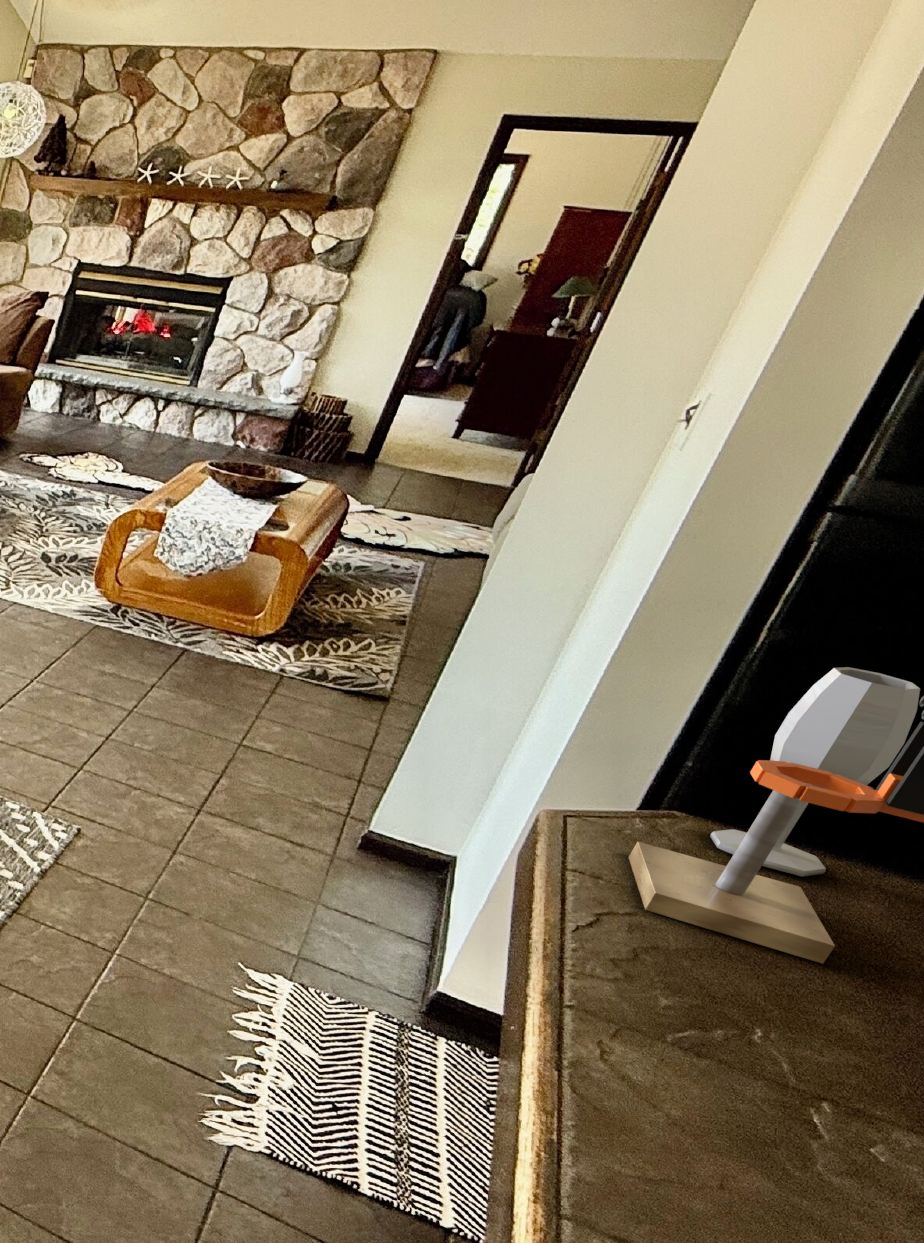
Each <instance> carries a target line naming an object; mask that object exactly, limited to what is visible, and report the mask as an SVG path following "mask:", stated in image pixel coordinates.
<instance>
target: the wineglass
mask: <svg viewBox="0 0 924 1243" xmlns="http://www.w3.org/2000/svg"><path fill="white" fill-rule="evenodd" d="M920 692H921V688H920V687H919V686H917V685H916V684H915V683H914V682H911V681H908V680H905V679H901V678H898V677H894V676H891V675H887V674H884V673H881V672H875V671H870V670H865V669H860V668H854V667H849V666H845V667H843V666H842V667H833V668H832V669H831V670H830V671H828V672H827V673H826V674H825V675H823V677H821V678H820V679H818V680H817V681H816V682H815V683H814V684H813V685H812V686H811V687H810V688H809V689H808V690H807V692H806V693H805V694H803V696H802V697H801V698H800V700H798V701H797V703H796V704H795V705H794V706H793V708H791V709H790V711H788V712H787V715H786V716H785V718H784V720H783V721H782V723H781V725H780V727H779V728H778V729H777V731H776V733H775V734H774V739H773V745H772V750H771V754H770V758H769V761H785V762H787V763H789V762H791V763H795V764H800V765H804V766H808V767H812V768H816V769H820V770H824V771H828V772H831V773H832V774H838V775H841V776H844V777H846V778H849V779H851V780H854V781H856V782H859V783H861V784H864V785H866V786H869V784H870V783H871V782H872V781H874V780H875V779H876V778H877V777H879V776H880V775H881V774H882V773H883V772H885V771H886V770H887V769H888V768H890V767H891V765H892V764H893V762H894V761H895V759H896V758H897V756H898V754H899V753H900V750H902V748H903V747H904V745H905V743H906V740H907V737H908V735H909V732H910V729H911V727H912V724H913V722H914V720H915V717H916V714H917V712H918V706H919V698H920ZM812 786H815V785H812ZM815 787H819V786H815ZM819 788H823V787H819ZM823 789H825V788H823ZM827 790H828V789H827ZM808 805H809V803H808V802H804V801H802V803H801V804H800V806H799V807H798V809H797V811H796V812H795V814H794V815H793V817H792V819H791V820H790V822H789V823H788V825H787V827H786V828H785V830H784V831H783V833H782V834H781V836H780V838H779V839H778V841H777V842H776V844H775V846H774V847H773V849H772V850H771V852H770V854H769V855H768V857H767V858H766V860H765V861H764V863H763V865H762V866H761V867H765V868H769V869H773V870H777V871H779V872H783V873H788V874H792V875H796V876H798V877H809V876H817V875H823V874H825V872H826V870H827V868H826V867H825V865H824V864H823V863H822V861H821V860H820V859H819V858H818V857H817V855H814V854H811V853H809V852H807V851H804V850H802V849H799V848H796V847H794V846H792V845H789V844H787V843H785V842H786V840H787V838H788V837H789V835H790V834H791V832H792V830H793V828H794V827H795V826H796V824H797V823H798V821H799V819H800V818H801V816H802V814H803V813H804V811H805V810H806V808H807V806H808ZM746 834H747V832H746V831H743V830H738V829H734V828H731V829H723V830H722V829H721V830H713V831H712V832H711V833H710V838H711V840H712V842H713V843H714V845H715V846H716V848H717V849H719V850H721V851H724V852H725V853H729V854H731V855H732V856H733V855H734V853H735V851H736V850H737V848H738V847H739V845H740V843H741V842H742V840H743V838H744V837H745V835H746Z"/></svg>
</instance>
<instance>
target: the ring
mask: <svg viewBox="0 0 924 1243" xmlns="http://www.w3.org/2000/svg"><path fill="white" fill-rule="evenodd" d="M749 773H750V775H751V777H752V778H753V781H754V782H756V783H758V785H759V786H762V787H765V788H767V789H770V790H772V791H773V790H775V791H777V792H779V793H782V794H784V795H786V796H789V797H791V798H799V800H800V801H804V802H808V804H812V805H816V806H820V807H824V808H828V809H831V810H836V811H840V812H847V813H851V814H852V813H853V814H877V813H879V812H880V813H884V814H888V815H890V816H891V815H892V816H894V817H895V816H896V817H900V818H903V819H907V820H911V821H915V822H919V823H923V824H924V815H922V814H918V813H914V812H910V811H906V810H902V809H898V808H894V807H890V806H888V805H887V804H886V802H887V800H888V799H889V797H890V796H891V794H892V793H893V791H894V790H895V788H896V787H897V785H898V784H899V782H900V781H901V779H902V778H903V776H900V775H896V774H891V773H890V774H889V775H888V777H887V778H886V780H885V781H884V783H883V784H882V786H881V787H880V789H879V790H878V791H877V790H876V789H874V787H871V786H869V785H864V784H861V783H859V782H856V781H854V780H851V779H849V778H846V777H844V776H841V775H838V774H832V773H831V772H828V771H824V770H820V769H816V768H812V767H808V766H804V765H800V764H795V763H791V762H789V763H787V762H785V761H770V760H765V759H758V760H757V761H755V763H754V765H753V766H752V768H751V769H750V771H749ZM805 783H807V784H805ZM808 784H811V785H815V786H819V787H823V788H825V789H823V788H819V787H815V786H811V785H808ZM827 789H828V790H827Z"/></svg>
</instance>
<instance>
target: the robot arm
mask: <svg viewBox="0 0 924 1243" xmlns="http://www.w3.org/2000/svg"><path fill="white" fill-rule="evenodd" d="M918 705H919V707H920V708H924V695H923V696H921V698H920V700H919V702H918ZM921 720H923V721H920V722H919V723H918V725H917V726H916V727H915V729H914V731H913V732H912V734H911V736H910V737H909V739H908V740H907V741H906V742H905V744H904V745H903V747H902V748H901V751H899V753H898V754H897V756H896V757H895V759H894V760H893V762H892V763H891V765H890V766H889V769H888V770H887V772H886V773H885V775H884V776H883V777H882V779H881V781H880V782H879V784H877V787H876V788H875V790H877V791H878V790H879V789H880V787H881V786H882V784H883V783H884V781H885V780H886V778H887V777H888V775H889V774H890V773H891V774H896V775H900V776H903V778H902V779H901V781H900V782H899V784H898V785H897V787H896V788H895V790H894V791H893V793H892V794H891V796H890V797H889V799H888V800H887V802H886V804H887V805H888V806H890V807H894V808H898V809H902V810H906V811H910V812H914V813H918V814H922V815H924V710H922V712H921Z"/></svg>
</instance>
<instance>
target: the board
mask: <svg viewBox="0 0 924 1243" xmlns="http://www.w3.org/2000/svg"><path fill="white" fill-rule="evenodd" d="M805 784H807V783H805ZM808 785H811V784H808ZM811 786H812V785H811ZM801 803H802V801H800V800H799V798H791V797H789V796H786V795H784V794H782V793H779V792H777V791H775V790H772V792H771V793H770V795H769V796H768V798H767V800H766V801H765V803H764V804H763V806H762V807H761V809H760V811H759V812H758V813H757V815H756V818H755V819H754V821H753V822H752V824H751V826H750V827H749V828H748V831H747V832H746V833H747V834H746V835H745V837H744V838H743V840H742V842H741V843H740V845H739V847H738V848H737V850H736V851H735V853H734V855H733V854H732V856H731V858H730V860H729V861H728V863H727V864H726V865H723V864H719V863H716V862H713V861H709V860H706V859H701V858H698V857H695V856H692V855H689V854H683V853H680V852H678V851H674V850H669V849H667V848H663V847H659V846H655V845H652V844H648V843H645V842H641V841H637V842H636V844H634V847H633V848H632V850H631V852H630V854H629V856H628V861H629V863H630V867H631V870H632V873H633V876H634V878H635V883H636V885H637V889H638V891H639V892H638V893H639V894H640V898H641V902H642V904H643V907H644V910H645V911H647V912H651V913H654V914H657V915H661V916H664V917H667V918H671V919H674V920H677V921H681V922H684V923H687V924H690V925H694V926H696V927H700V928H703V929H707V930H711V931H714V932H717V933H720V934H724V935H726V936H731V937H733V938H736V939H740V940H743V941H747V942H748V943H749V942H750V943H754V944H757V945H759V946H763V947H767V948H770V949H773V950H776V951H780V952H782V953H787V954H788V955H793V956H796V957H799V958H802V959H806V960H808V961H813V962H815V963H818V964H822V965H823V964H824V963H825V962H826V961H827V959H828V957H829V956H830V954H831V953H832V952H833V950H834V948H835V947H836V945H835V944H834V941H833V940H832V938H831V936H830V935H829V933H828V931H827V930H826V928H825V926H824V925H823V923H822V921H821V919H820V918H819V916H818V914H817V912H816V911H815V909H814V908H813V906H812V904H811V902H810V901H809V899H808V897H807V896H806V894H805V892H804V891H803V888H802V887H801V886H798V885H795V884H791V883H788V882H784V881H781V880H777V879H773V878H769V877H766V876H762V875H759V874H758V873H759V871H760V869H761V868H762V867H763V866H762V865H763V863H764V861H765V860H766V858H767V857H768V855H769V854H770V852H771V850H772V849H773V847H774V846H775V844H776V842H777V841H778V839H779V838H780V836H781V834H782V833H783V831H784V830H785V828H786V827H787V825H788V823H789V822H790V820H791V819H792V817H793V815H794V814H795V812H796V811H797V809H798V807H799V806H800V804H801Z"/></svg>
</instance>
